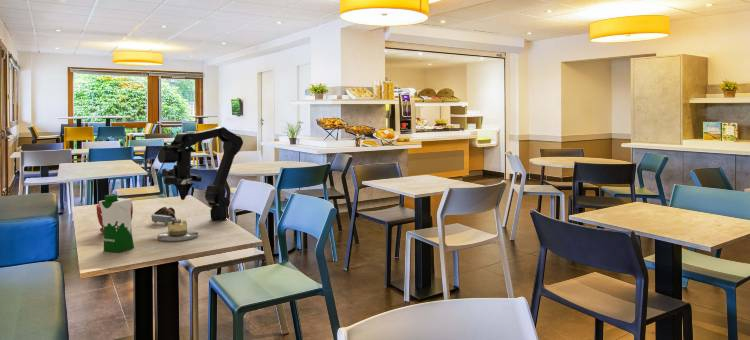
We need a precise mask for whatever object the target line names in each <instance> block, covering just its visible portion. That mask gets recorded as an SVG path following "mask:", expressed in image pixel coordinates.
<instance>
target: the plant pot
mask: <svg viewBox="0 0 750 340" xmlns="http://www.w3.org/2000/svg"><path fill="white" fill-rule="evenodd" d="M133 210H134V208H133V204H132V205H131V221H132V219H133V212H134V211H133ZM96 216H97V220H98V223H99V225H100V228H99V230H100V232H101V233H102V234H103V219H102V211H101V208H100V204H99V203H98V204H97V205H96ZM132 227H133V226H132V225H131V228H132Z"/></svg>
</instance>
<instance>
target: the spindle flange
mask: <svg viewBox="0 0 750 340" xmlns="http://www.w3.org/2000/svg"><path fill="white" fill-rule="evenodd" d="M173 222H174V224H175V223H178V222H180V223H181V222H182V219H180V218H176V220H173ZM198 237H199V232H198V231H196V230H191V229H187V234H184V235H176V236H173V235H168V231H165V232H161V233H158V235H157V237H156V238H157V241H159V242H164V243H178V242H186V241H191V240H194V239H197V238H198Z"/></svg>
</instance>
